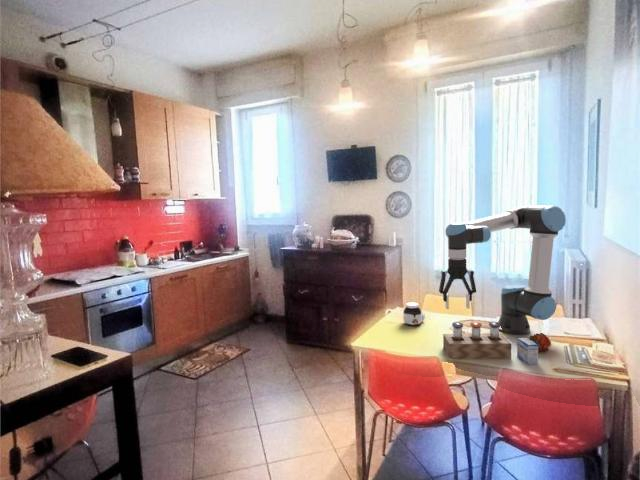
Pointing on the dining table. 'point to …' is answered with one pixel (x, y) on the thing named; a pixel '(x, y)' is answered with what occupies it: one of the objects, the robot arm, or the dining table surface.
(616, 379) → the dining table surface
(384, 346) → the dining table surface
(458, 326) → the plunger
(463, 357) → the block
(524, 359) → the medicine box
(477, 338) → the plunger
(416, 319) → the spread jar
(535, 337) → the dragon fruit
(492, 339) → the plunger
